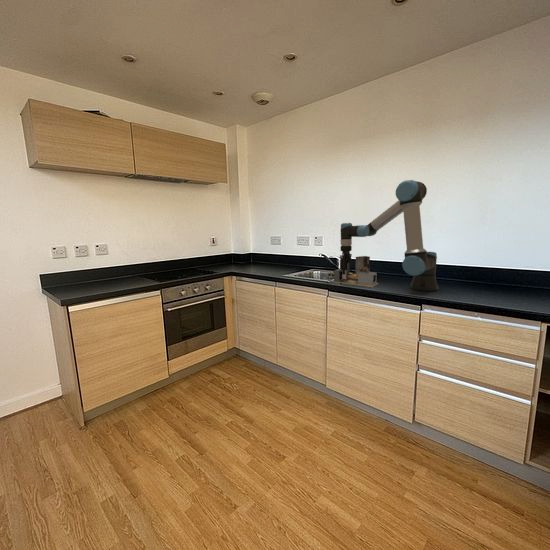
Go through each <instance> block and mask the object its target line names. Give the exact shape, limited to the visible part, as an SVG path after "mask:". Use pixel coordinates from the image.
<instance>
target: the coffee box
mask: <svg viewBox="0 0 550 550" xmlns="http://www.w3.org/2000/svg"><path fill="white" fill-rule="evenodd" d="M370 258H371V256H367V255H361V256H359V255H358V256H355V273H354V274H358V273H359V272H371V271H370V269H371V267H370V266H371V265H370V264H371V259H370Z"/></svg>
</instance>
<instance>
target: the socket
mask: <svg viewBox="0 0 550 550" xmlns="http://www.w3.org/2000/svg"><path fill="white" fill-rule="evenodd" d="M340 273H342V270H341V268H338V269H335V270H334V271H333V281H337V282H340V281H342V278H341V277H340Z"/></svg>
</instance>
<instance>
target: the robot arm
mask: <svg viewBox="0 0 550 550" xmlns="http://www.w3.org/2000/svg"><path fill="white" fill-rule="evenodd" d="M427 191H428V188H427V186H426V185H425V183H423V182H422V181H417V180H414V179H406V180H403V181H402V182H400V183H399V184H398V185H397V186H396V189H395V197H396V199H397V201H396V202H395V203H393V204H392V205H391V206H390V207H388V208H387V209H385V211H383V212H382V213H380V214H379V215H378V216H376V217H375V218H374V219H373V220H371V222H369V223H368V224H367V225H366V224H365V225H364V224H361V225H360V224H359V225H353V224H352V223H351V222H343V223H341V224H340V241H339V242H340V251H341V252H342V253H341V255H339V260H340V269H341V270H342V279H346V262H349V270H351V269H352V268H351V267H352V253H351V251H352V248H353V247H352V240H353V239H352V238H353V237H354V238H364V237H365V238H367V237H373V236H375V235H376V234H377V233H378V231H379V230H381V229H382V228H384V227H385V226H386V225H387V224H389V223H390V222H391V221H393V220H394V219H395V218H397V217H398V216H400V215H401V214H403V222H404V223H403V224H404V232H405V244H406V250H405V251H404V253H403V254H404V259H403V260H402V263H401V265H402V269H403V271H404V272H405V273H406V274H408V275H409V276H413V278H412V281H411V283H410V289H412V290H415V291H423V292H424V291H425V292H434V291H435V292H436V291H438V290H439V285H438V280H437V278H436V277H437V276H436V274H437V260H438V256H437V252H434V251H427V250H426V248H424V241H423V231H422V230H423V229H422V217H421V208H420V206H421V205H422V204H423V200H424V199H425V197H426V195H427V193H428V192H427Z"/></svg>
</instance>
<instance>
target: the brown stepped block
mask: <svg viewBox="0 0 550 550" xmlns="http://www.w3.org/2000/svg"><path fill="white" fill-rule="evenodd" d="M340 277H341V278H342V273H340ZM350 279H351V280H353V279H354V280H358V274H355V273H350V269H349V262H346V279H342V281H349V280H350Z"/></svg>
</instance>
